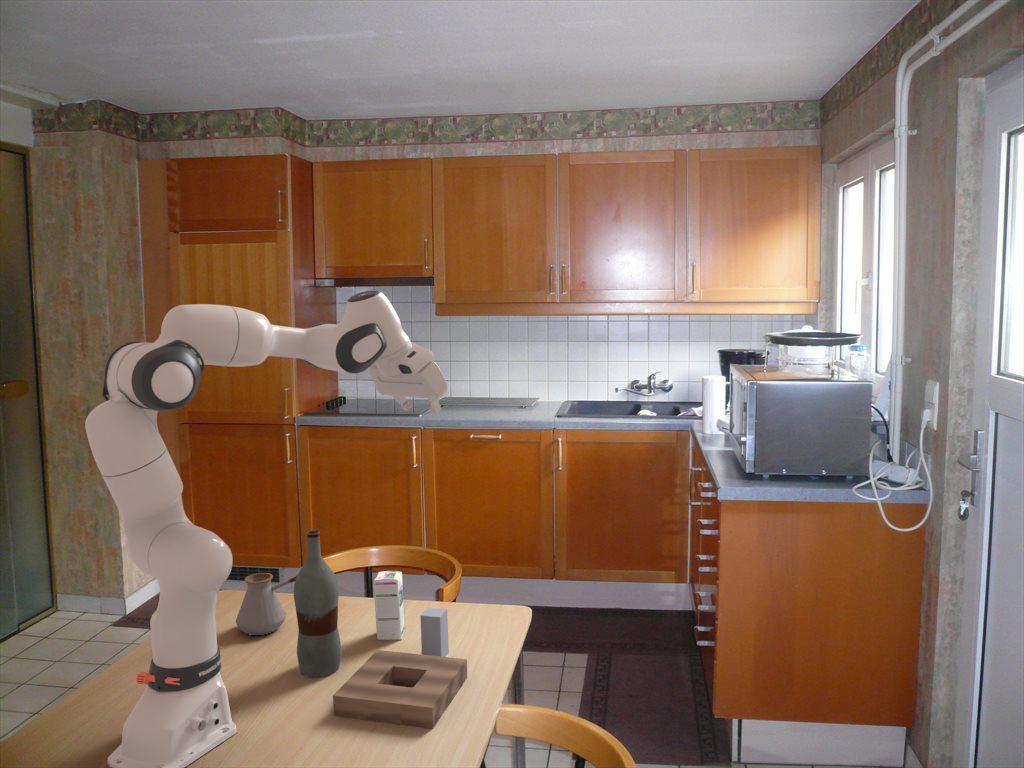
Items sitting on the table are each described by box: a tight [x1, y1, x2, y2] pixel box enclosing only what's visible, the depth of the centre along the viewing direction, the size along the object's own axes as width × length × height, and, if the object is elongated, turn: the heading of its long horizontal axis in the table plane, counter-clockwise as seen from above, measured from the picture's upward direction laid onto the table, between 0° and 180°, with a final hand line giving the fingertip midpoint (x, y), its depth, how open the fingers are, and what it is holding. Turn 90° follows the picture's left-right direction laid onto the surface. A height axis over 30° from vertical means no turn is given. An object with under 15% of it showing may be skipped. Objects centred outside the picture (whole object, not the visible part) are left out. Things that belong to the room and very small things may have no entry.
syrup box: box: [373, 570, 406, 641], centre depth 191 cm, size 6×6×14 cm
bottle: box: [293, 529, 343, 678], centre depth 174 cm, size 9×9×30 cm
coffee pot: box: [235, 572, 297, 636], centre depth 196 cm, size 21×12×15 cm, turn 95°
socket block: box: [332, 649, 468, 729], centre depth 163 cm, size 20×20×4 cm
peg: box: [420, 607, 450, 657], centre depth 180 cm, size 4×4×10 cm
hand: (422, 410), depth 182 cm, fingers open, 8 cm apart
